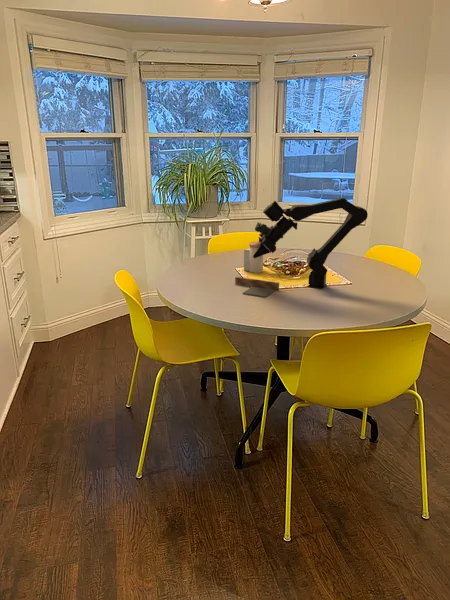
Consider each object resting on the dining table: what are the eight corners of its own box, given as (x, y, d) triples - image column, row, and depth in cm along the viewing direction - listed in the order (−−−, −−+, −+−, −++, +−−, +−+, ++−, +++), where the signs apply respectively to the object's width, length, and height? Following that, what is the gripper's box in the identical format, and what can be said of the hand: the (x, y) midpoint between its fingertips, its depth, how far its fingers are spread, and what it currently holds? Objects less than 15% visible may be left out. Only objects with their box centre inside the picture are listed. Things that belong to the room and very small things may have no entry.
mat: (274, 290, 191) (274, 289, 190) (265, 297, 182) (265, 296, 182) (252, 287, 195) (252, 286, 195) (242, 293, 187) (242, 292, 186)
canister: (265, 270, 196) (266, 242, 192) (259, 273, 191) (259, 245, 188) (253, 268, 199) (253, 241, 195) (246, 271, 194) (246, 243, 190)
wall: (278, 289, 192) (279, 282, 191) (277, 290, 191) (278, 283, 190) (236, 283, 201) (236, 276, 200) (235, 283, 200) (235, 277, 199)
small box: (252, 272, 218) (253, 250, 215) (243, 270, 222) (243, 249, 218) (262, 269, 224) (262, 248, 221) (252, 267, 228) (253, 246, 224)
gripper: (264, 212, 197) (238, 238, 200) (268, 219, 179) (240, 247, 182) (282, 230, 199) (256, 255, 203) (287, 239, 181) (259, 266, 185)
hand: (253, 255), depth 193 cm, fingers closed on canister, 6 cm apart
